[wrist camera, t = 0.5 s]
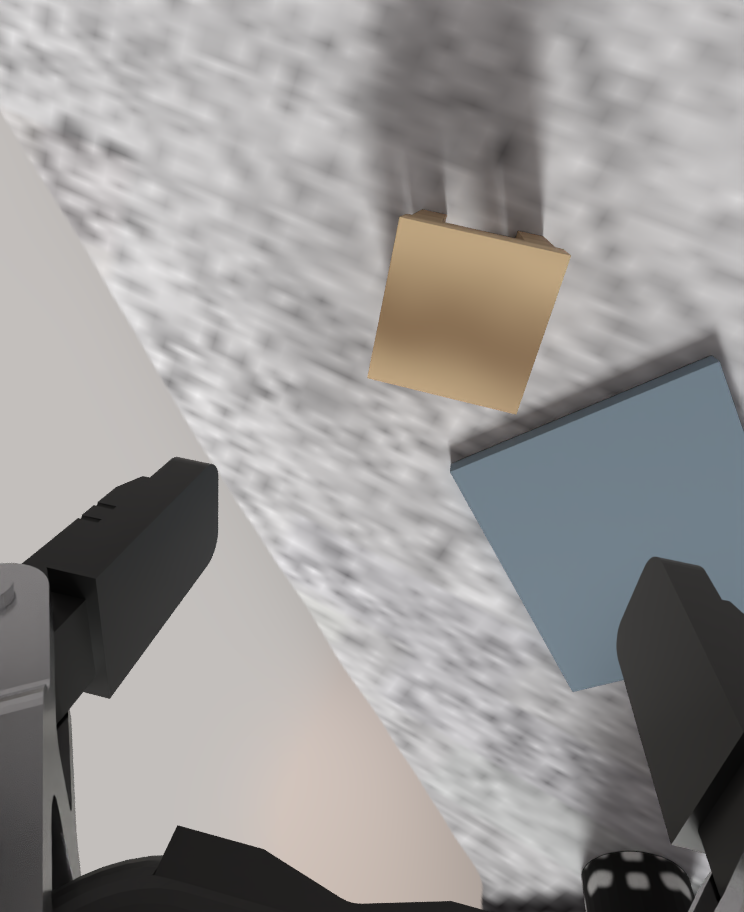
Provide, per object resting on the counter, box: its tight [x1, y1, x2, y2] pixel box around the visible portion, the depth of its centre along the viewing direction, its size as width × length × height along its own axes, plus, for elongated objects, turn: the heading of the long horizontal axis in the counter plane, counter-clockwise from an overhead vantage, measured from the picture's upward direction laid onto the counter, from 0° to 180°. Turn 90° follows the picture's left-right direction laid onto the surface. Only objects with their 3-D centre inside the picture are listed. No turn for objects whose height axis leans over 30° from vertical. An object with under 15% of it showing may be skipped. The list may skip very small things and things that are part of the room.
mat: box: [450, 355, 744, 692], centre depth 32 cm, size 18×14×1 cm
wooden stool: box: [367, 209, 571, 414], centre depth 24 cm, size 6×6×8 cm
